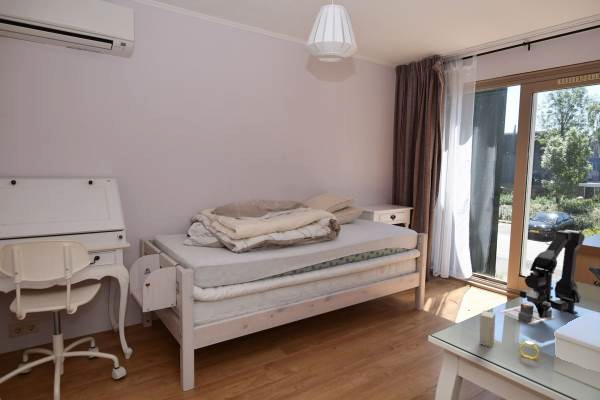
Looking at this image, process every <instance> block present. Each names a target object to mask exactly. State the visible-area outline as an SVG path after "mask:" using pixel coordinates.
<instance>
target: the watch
mask: <svg viewBox="0 0 600 400" xmlns="http://www.w3.org/2000/svg"><path fill="white" fill-rule="evenodd" d="M523 346H530V347H533V348H534V349H535V351H536V352H537V353H536V355H535V356H530V355H526V354H524V352H523V351H522V347H523ZM519 352H520V355H521V356H522V357H524V358H527V359H530V360H536V359H537V358H538V357H539V354H540V351H539V348H538V346H537V345H535V342H533V341H531V340H525V342H523V343H521V344H520V346H519Z"/></svg>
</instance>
